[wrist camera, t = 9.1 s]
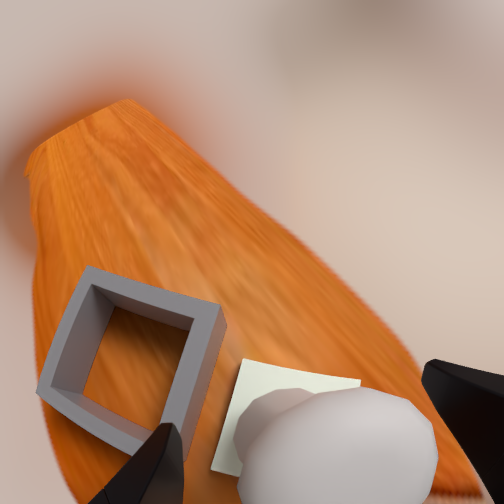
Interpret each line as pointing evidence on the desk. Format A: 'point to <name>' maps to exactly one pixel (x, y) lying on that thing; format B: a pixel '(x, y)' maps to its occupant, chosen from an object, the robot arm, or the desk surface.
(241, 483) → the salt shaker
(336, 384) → the pad
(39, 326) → the desk surface
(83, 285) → the frame
